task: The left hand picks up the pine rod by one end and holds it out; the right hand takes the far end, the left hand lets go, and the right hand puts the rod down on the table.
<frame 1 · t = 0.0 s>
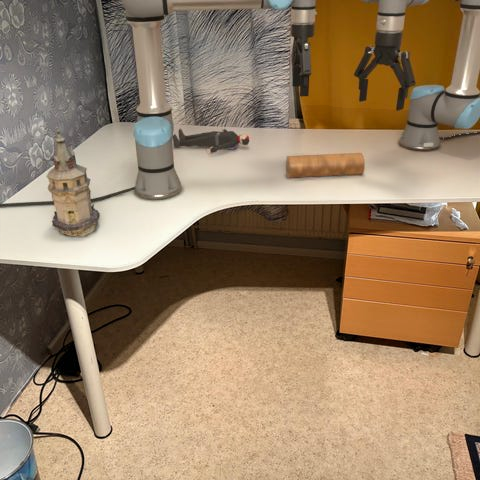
left hand: (300, 91, 180), 28 cm above the table, tool pointing down, fingers open, 13 cm apart
right hand: (380, 105, 163), 28 cm above the table, tool pointing down, fingers open, 13 cm apart
miniature building: (78, 229, 156), on the table
toy: (212, 146, 216), on the table
rod: (324, 175, 188), on the table
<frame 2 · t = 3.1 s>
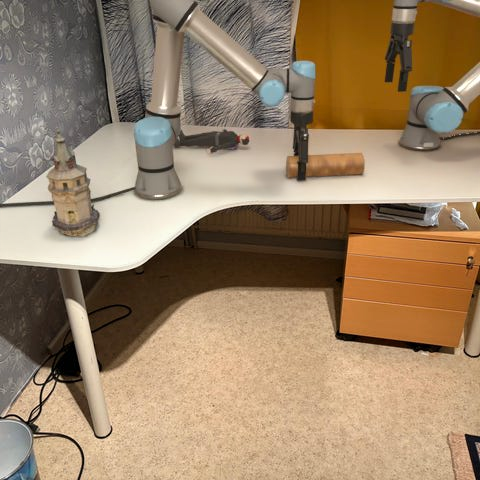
left hand: (299, 175, 187), 0 cm above the table, tool pointing down, fingers closed on rod, 7 cm apart
right hand: (394, 86, 188), 27 cm above the table, tool pointing down, fingers open, 13 cm apart
rod: (324, 175, 188), on the table, touching left hand
everything else where it was.
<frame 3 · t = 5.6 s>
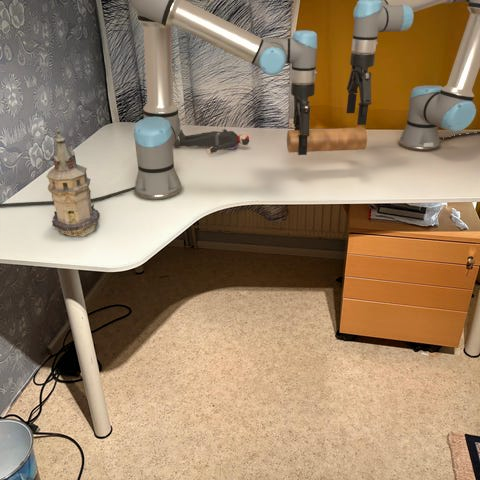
left hand: (300, 150, 183), 10 cm above the table, tool pointing down, fingers closed on rod, 7 cm apart
right hand: (355, 118, 180), 19 cm above the table, tool pointing down, fingers open, 13 cm apart
rod: (325, 150, 184), point 9 cm above the table, touching left hand
everything else where it was.
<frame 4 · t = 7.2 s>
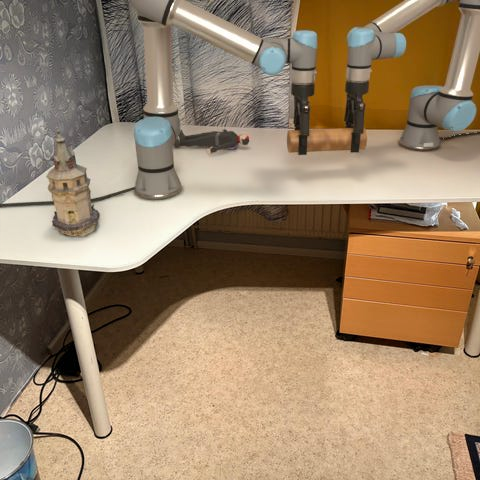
left hand: (300, 150, 183), 10 cm above the table, tool pointing down, fingers closed on rod, 7 cm apart
right hand: (351, 147, 184), 10 cm above the table, tool pointing down, fingers closed on rod, 7 cm apart
rod: (325, 150, 184), point 9 cm above the table, touching left hand, right hand
everything else where it was.
when the left hand's fingers open (10 cm above the table, at t = 8.2 s): rod stays where it is, held by the right hand.
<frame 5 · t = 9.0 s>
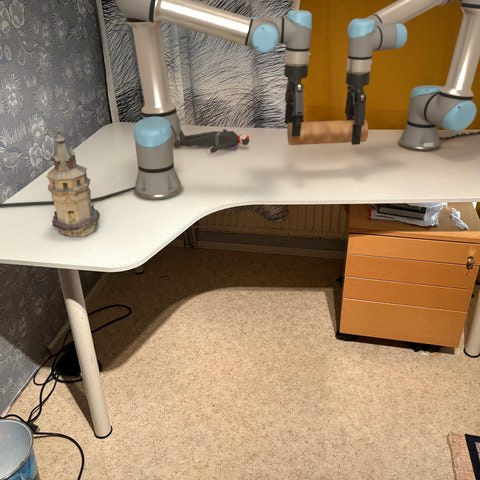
left hand: (292, 129, 179), 17 cm above the table, tool pointing down, fingers open, 13 cm apart
right hand: (352, 140, 183), 12 cm above the table, tool pointing down, fingers closed on rod, 7 cm apart
rod: (326, 142, 183), point 12 cm above the table, touching right hand
everything else where it was.
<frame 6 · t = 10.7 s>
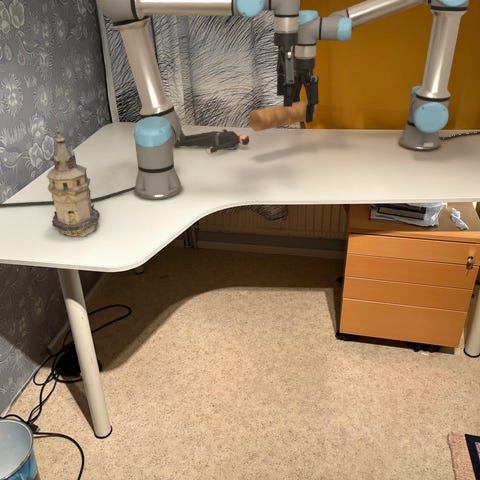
left hand: (284, 100, 174), 27 cm above the table, tool pointing down, fingers open, 13 cm apart
right hand: (302, 119, 204), 12 cm above the table, tool pointing down, fingers closed on rod, 7 cm apart
rod: (283, 124, 200), point 12 cm above the table, touching right hand
everything else where it was.
when the right hand's fingers open (2 cm above the table, at t = 12.1 s): rod drops 1 cm, on the table.
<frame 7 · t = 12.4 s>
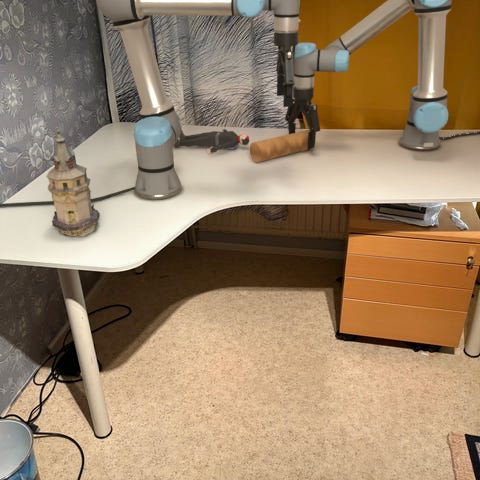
left hand: (284, 100, 174), 27 cm above the table, tool pointing down, fingers open, 13 cm apart
right hand: (301, 143, 209), 3 cm above the table, tool pointing down, fingers open, 11 cm apart
rod: (282, 154, 206), on the table
everything else where it was.
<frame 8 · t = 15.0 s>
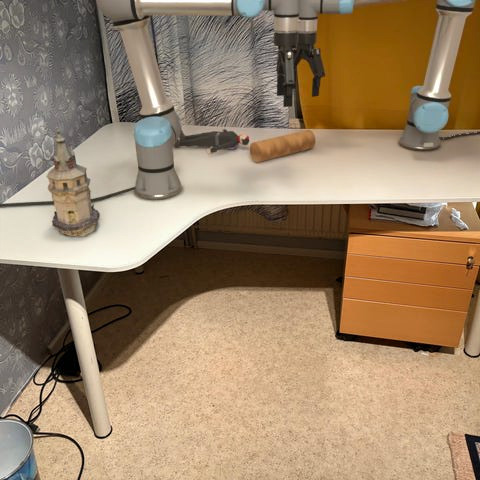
left hand: (284, 100, 174), 27 cm above the table, tool pointing down, fingers open, 13 cm apart
right hand: (303, 92, 199), 23 cm above the table, tool pointing down, fingers open, 13 cm apart
nothing on the table moved.
at the end: rod inside the target area (8.9 cm from its centre), on the table; the left hand is holding nothing; the right hand is holding nothing; rod at rest at the end (0.0 cm/s) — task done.
